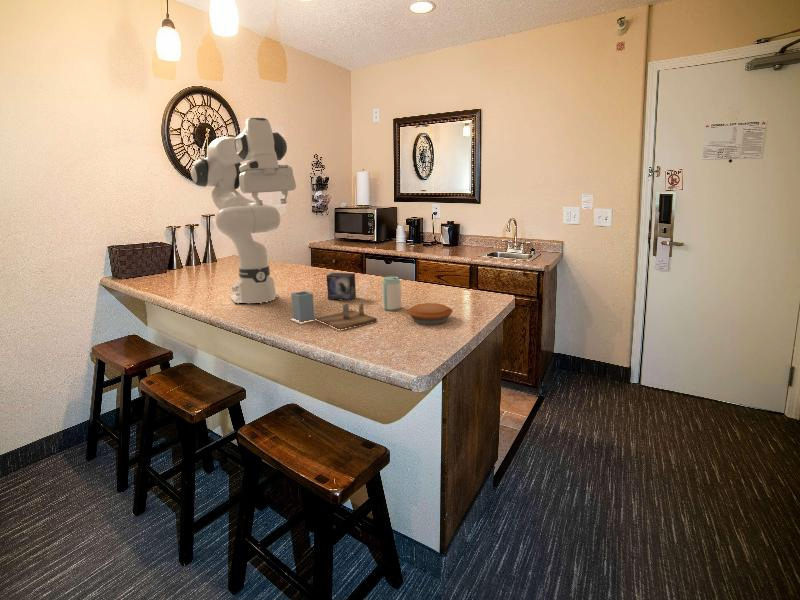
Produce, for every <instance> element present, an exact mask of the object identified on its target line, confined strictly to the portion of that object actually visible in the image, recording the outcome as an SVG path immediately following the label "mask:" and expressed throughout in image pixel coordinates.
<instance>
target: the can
mask: <svg viewBox="0 0 800 600" xmlns="http://www.w3.org/2000/svg"><path fill="white" fill-rule="evenodd" d="M401 290H402V289H401V281H400V278H399V277H398V276H392V275H391V276H383V279H382V281H381V295H382V296H381V299H382V301H381V303H382V305H381V306H382V309H384V310H385V309H386V310H385V311H397V309H398V310H399V309H401V307H402V305H401V304H402V297H401V295H402V293H401Z"/></svg>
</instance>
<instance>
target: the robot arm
mask: <svg viewBox="0 0 800 600" xmlns="http://www.w3.org/2000/svg"><path fill="white" fill-rule="evenodd" d="M287 150H288V145H287V141H286V139H285V138H284V137H283V136H282V135H281V134H280V133H279V132H273V129H272V125H271V123H270V121H269V120H268V119H267V118H265V117H249V118H247V119H246V121H245V127H244V129H243V131H242V132H241V133H239V134H238V135H237V136H236V137H230V136H221V137H217V138H215V139H214V140H212V141H211V142H210V143H209V145H208V146H207V150H206V151H207V156H206V157H203V156H200V157H199V159H197V160H195V161H194V162H193V163H192V165H191V167H190V177H191V178H192V182H193V183H194V184H195V185H196V186H198V187H204V188H206V187H214V188H213V190H212V191H211V199H212V201H213V203H214V205H215V206H216V208H217V209H218V212H217V213H216V215H215V224H216V227H217V229H218V230H219V231H220V232H221V233H222V234H223V235H225V236H227V237H228V238H229V239H230V240H231V241H232V243H233V244H234V246H235V248H236V251H237V256H238V262H239V268H238V276H239V277H238V279H237V280H236V281H235V283H234V286H232V287H231V289H232V290H231V291H232V293H233V294H230V295H229V298H230V300H231V301H232V300H233V301H234V302H235V303H260V302H266V301H270V300H273V299H274V298H275V297H277V296H279V297H280V295H279V293H277V292H276V287H275V281H274V278H273V277H271V276H270V275H271V270H270V266H269V262H268V255H267V254H268V253H267V252H268V251H267V249H266V246H265V245H264V244H262V243H260V242H258V241H255V240H254V239H253V237H252V234H259V233H260V234H261V233H268V232H271V231H275V230H277V229H278V228H279V226H280V223H281V215H280V213H279V210H278V209H277V208H276V207H275V206H272V205H267V204H263V200H262V199H260V198H259V197H258V196H259V193H275V192H276V193H277V192H281V194H282V195H283V196H282V198H280V199H279V200H280V205H285V204H287V203H288V202H287V201H288V200H287V198H288V195H289V191H290V192H291V191H295V190H296V188H297V185H296V180H295V176H294V172H293V168H292V167H291V166H289V165H288V164H279V162H278V161H281V160H282V159H284V157H285V156H286V154H287ZM246 161H247V162H246ZM242 162H243V164H241V163H242ZM244 162H246V163H244ZM239 188H240V191H241V193H243V194H251V197H252V198H253V199H254V200H252V199H249V198H247V197H245V196H244V195H242V194H241V193H240V192H239V191H238V190H237V189H239ZM277 298H278V297H277ZM275 299H276V298H275ZM233 301H232V302H233ZM273 301H274V300H273ZM234 302H233V303H234ZM270 302H271V301H270ZM235 303H234V304H235ZM266 303H267V302H266ZM260 304H261V303H260Z"/></svg>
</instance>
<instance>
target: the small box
mask: <svg viewBox="0 0 800 600" xmlns="http://www.w3.org/2000/svg"><path fill="white" fill-rule="evenodd" d="M326 289H327V300H329V299H342V300H341V301H344V300H351V301H353V300H354V299H356V298H357V293H356V292H357V291H356V273H355V272H354V273H351V272H350V273H349V272H331V273H329V274H327V275H326ZM355 297H356V298H355ZM352 299H353V300H352Z"/></svg>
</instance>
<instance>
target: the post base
mask: <svg viewBox="0 0 800 600" xmlns="http://www.w3.org/2000/svg"><path fill="white" fill-rule="evenodd" d="M349 306H350V305H349V303H343V304H342V312H338V313H333V314H329V315H328V314H327V315H325V316H321V317H320V316H319V317H317V318H316V319H317V320H319V321H321V322H324V323H326V324H328V325H331V326H333V327H335V328H337V329H340V330H341V329H345V328H349V327H354V326H358V327H360V326H359V325H362V326H364V325H363V324H366V325H368V324H367V323H370V324H372V323H371V322H373V323H376V321H377V320H378V319H377V317H374V316H371V315H368V314H366V313H364V311H365V309H364V307H365V306H364V303H362V302H360V303H358V311H356V310H353V309H351V310H350V309H349V308H350V307H349ZM377 322H378V321H377ZM354 328H355V327H354Z"/></svg>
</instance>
